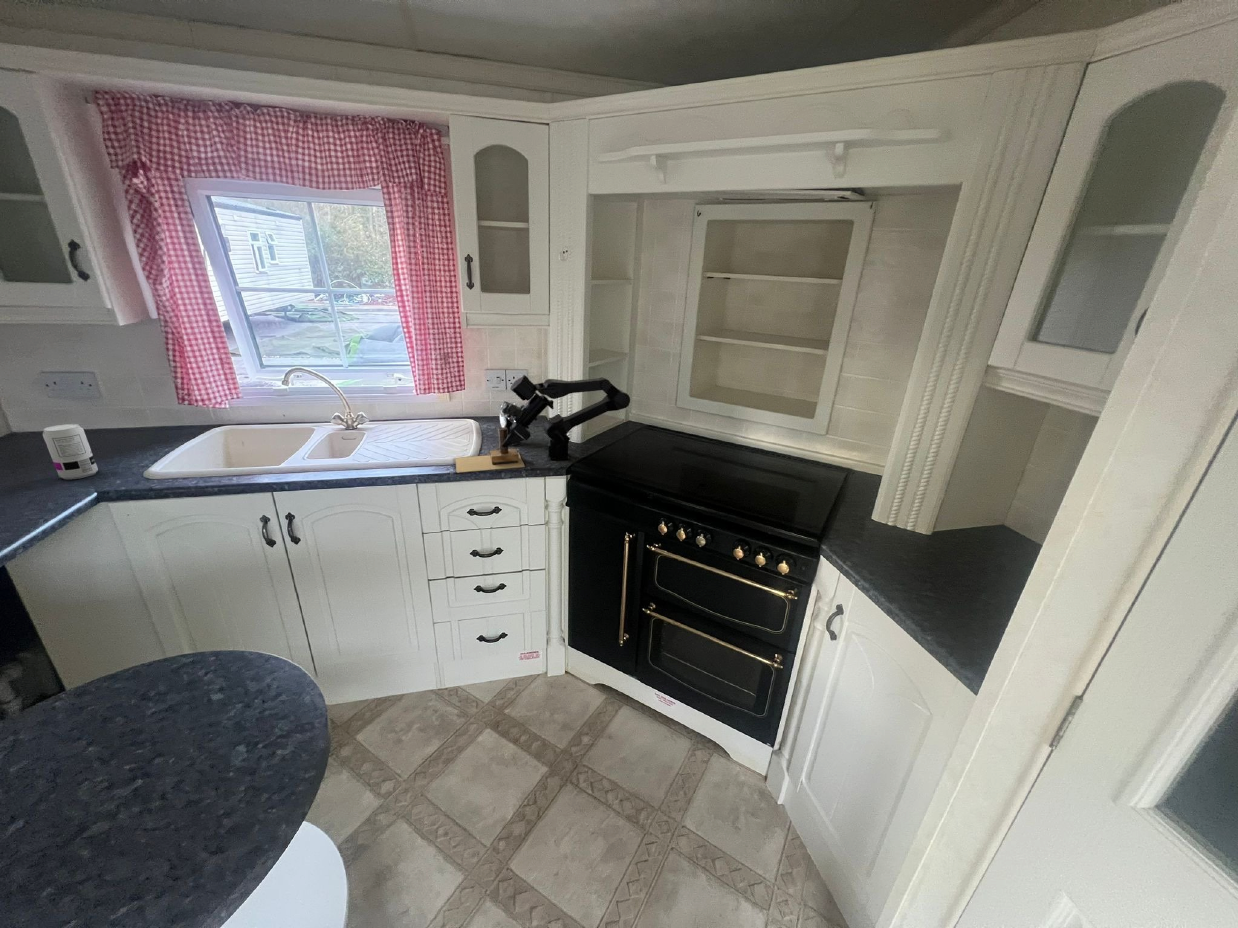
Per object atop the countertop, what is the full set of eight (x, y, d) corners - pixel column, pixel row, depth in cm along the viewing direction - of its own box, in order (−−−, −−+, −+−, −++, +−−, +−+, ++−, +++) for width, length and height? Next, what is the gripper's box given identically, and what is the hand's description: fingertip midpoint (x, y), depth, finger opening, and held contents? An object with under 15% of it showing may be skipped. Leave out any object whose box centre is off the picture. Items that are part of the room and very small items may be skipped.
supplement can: (51, 480, 144) (31, 431, 139) (75, 470, 152) (57, 423, 146) (83, 479, 145) (65, 431, 140) (106, 469, 153) (89, 423, 148)
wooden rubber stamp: (516, 457, 175) (515, 425, 170) (518, 463, 169) (517, 430, 165) (490, 459, 172) (488, 426, 168) (492, 465, 167) (490, 431, 162)
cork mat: (518, 453, 179) (518, 452, 179) (524, 467, 167) (524, 466, 167) (455, 458, 172) (455, 457, 172) (456, 473, 160) (456, 472, 160)
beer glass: (521, 441, 193) (520, 403, 187) (516, 446, 186) (514, 408, 181) (504, 439, 193) (502, 402, 188) (498, 445, 187) (496, 406, 181)
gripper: (511, 387, 172) (480, 420, 172) (519, 400, 155) (485, 435, 156) (534, 408, 177) (504, 439, 178) (544, 422, 161) (511, 457, 161)
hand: (501, 442), depth 168 cm, fingers open, 9 cm apart
